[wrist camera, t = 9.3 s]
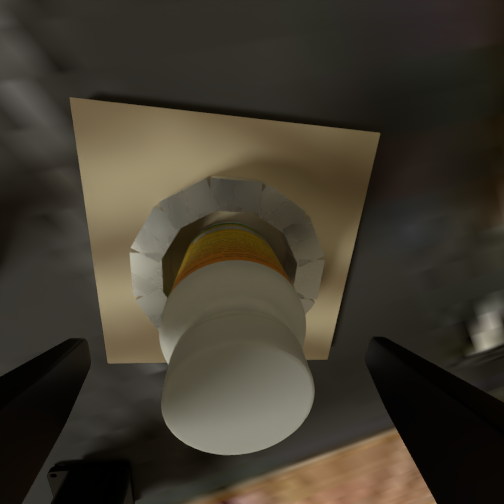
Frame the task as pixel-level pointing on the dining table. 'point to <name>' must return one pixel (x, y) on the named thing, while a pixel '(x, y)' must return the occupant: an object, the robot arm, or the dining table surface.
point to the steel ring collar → (230, 200)
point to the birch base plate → (191, 171)
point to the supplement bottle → (233, 346)
